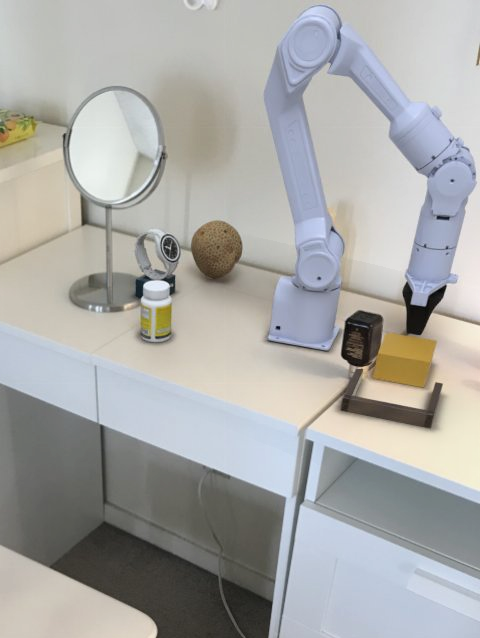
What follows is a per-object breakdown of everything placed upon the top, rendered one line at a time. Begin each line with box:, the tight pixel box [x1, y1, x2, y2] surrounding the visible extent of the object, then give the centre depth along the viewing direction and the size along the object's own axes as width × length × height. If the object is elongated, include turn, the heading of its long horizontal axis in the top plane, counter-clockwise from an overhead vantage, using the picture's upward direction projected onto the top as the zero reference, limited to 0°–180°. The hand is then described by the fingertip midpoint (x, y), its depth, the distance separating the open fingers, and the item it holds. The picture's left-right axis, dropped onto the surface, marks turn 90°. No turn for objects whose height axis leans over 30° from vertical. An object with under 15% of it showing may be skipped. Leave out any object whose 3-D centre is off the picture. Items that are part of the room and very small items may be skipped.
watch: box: [134, 227, 182, 299], centre depth 137 cm, size 6×8×11 cm
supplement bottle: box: [140, 280, 173, 343], centre depth 125 cm, size 5×5×8 cm
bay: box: [340, 368, 444, 429], centre depth 110 cm, size 12×9×2 cm
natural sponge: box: [190, 219, 243, 280], centre depth 143 cm, size 9×9×10 cm
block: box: [372, 332, 438, 388], centre depth 116 cm, size 7×7×4 cm
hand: (414, 332), depth 121 cm, fingers closed
